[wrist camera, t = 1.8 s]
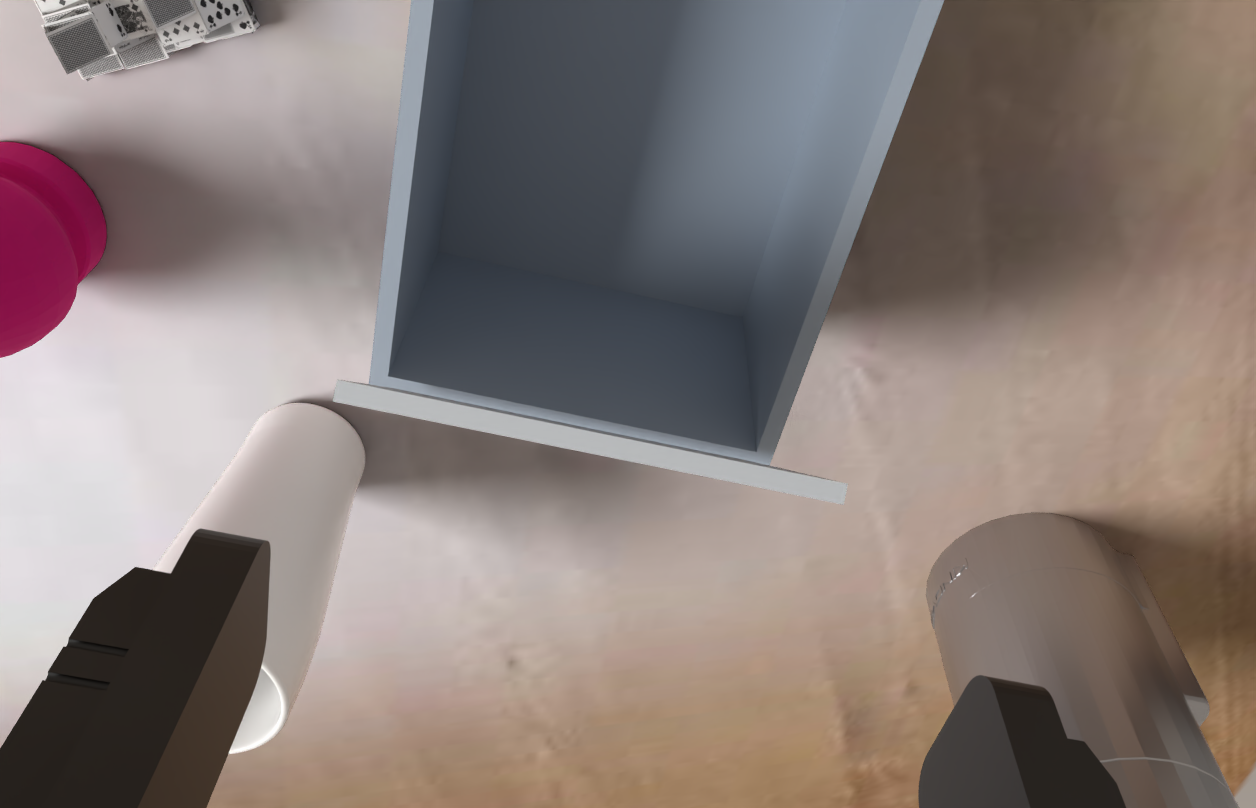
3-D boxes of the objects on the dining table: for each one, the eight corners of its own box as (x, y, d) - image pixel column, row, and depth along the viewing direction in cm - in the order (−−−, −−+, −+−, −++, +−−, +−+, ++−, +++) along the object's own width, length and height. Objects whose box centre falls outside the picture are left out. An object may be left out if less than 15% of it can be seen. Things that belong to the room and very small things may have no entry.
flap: (848, 484, 26) (843, 504, 26) (746, 460, 37) (744, 474, 37) (337, 379, 25) (332, 401, 25) (395, 388, 36) (392, 403, 36)
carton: (1000, -420, 32) (1112, -448, 24) (751, 325, 47) (768, 468, 38) (533, -556, 31) (481, -633, 23) (424, 254, 45) (368, 387, 37)
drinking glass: (240, 369, 49) (92, 609, 37) (391, 401, 50) (297, 648, 37) (235, 485, 53) (98, 739, 40) (376, 513, 53) (285, 772, 41)
